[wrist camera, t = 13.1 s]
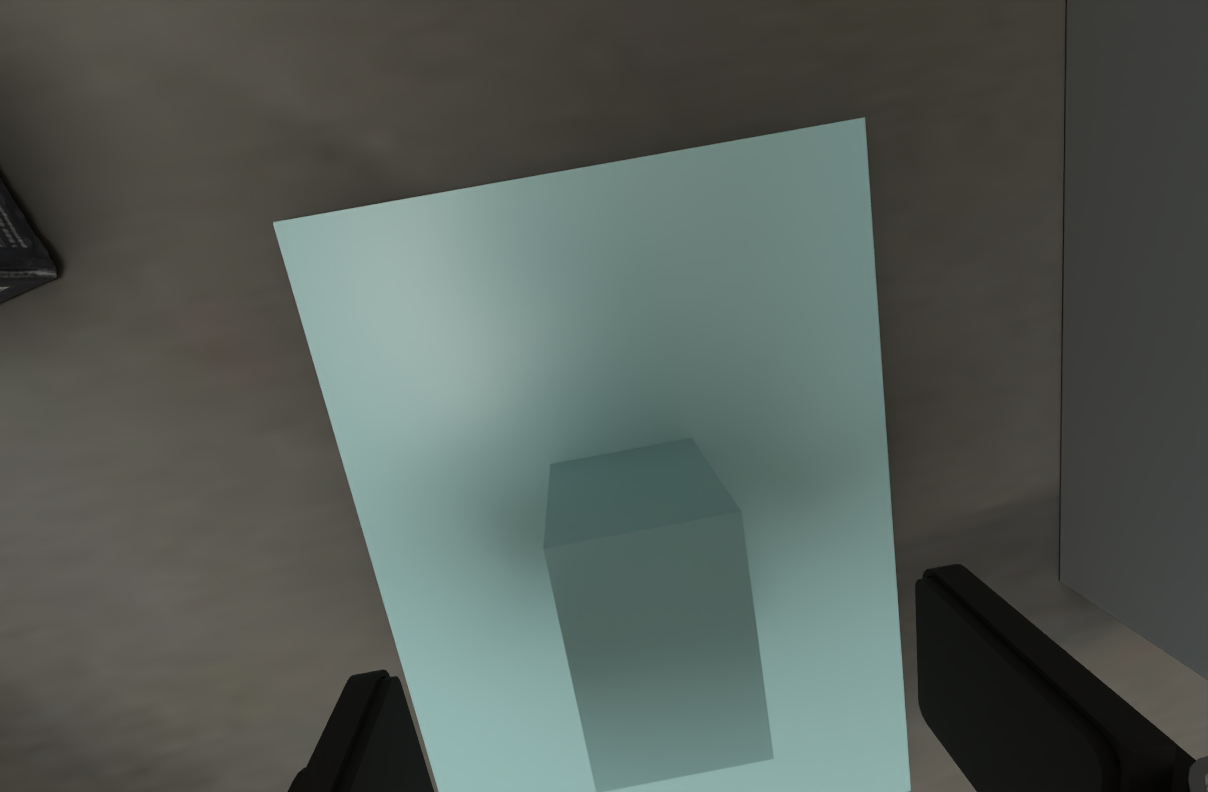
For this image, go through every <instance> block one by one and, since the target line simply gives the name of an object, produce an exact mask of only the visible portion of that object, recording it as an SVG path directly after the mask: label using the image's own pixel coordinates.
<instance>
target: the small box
mask: <svg viewBox="0 0 1208 792" xmlns="http://www.w3.org/2000/svg"><path fill="white" fill-rule="evenodd" d="M56 277H57V276H56V267H55V265H54V262H53V261H52V260H51V258H50V256H49V253H48V250H47V249H46V248H45V247H44V245H43V244H42V243H41V241H40V239H39V238H38V237H37V236H36V235H35V234H34V232H33V230H32V229H31V227H30V226H29V224H28V223H27V221H26V218H25V215H24V214H23V213H22V212H21V211H20V209H19V208H18V206H17V204H16V203H15V201H14V200H13V198H12V197H11V195H10V193H9V192H8V190H7V188H6V187H5V185H4V184H3V182H2V180H1V178H0V303H1V302H3V301H5V300H7V299H10V298H12V297H14V296H15V295H17V294H20V293H23V292H25V291H27V290H30V289H32V288H34V287H36V286H38V285H40V284H43V283H46V282H49V281H52V280H54V279H55V278H56Z"/></svg>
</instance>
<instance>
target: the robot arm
mask: <svg viewBox="0 0 1208 792" xmlns="http://www.w3.org/2000/svg"><path fill="white" fill-rule="evenodd" d="M915 596H916V632H917V668H918V701H919V706H920V710H921V713H922V716H923V718H924V720H925V722H926V723H927V725H928V726H929V728H930V729H931V730H932V732H933V733H934V734H935V736H936V737H937V738H938V740H939V741H940V742H941V744H942V745H943V746H944V748H945V749H946V750H947V752H948V753H949V755H950V756H951V757H952V759H953V760H954V761H955V763H956V764H957V765H958V767H959V768H960V769H961V771H962V772H963V773H964V775H965V776H966V777H967V779H968V780H969V782H970V783H971V784H972V786H973V787H974V788H975V790H976V791H977V792H1208V756H1206V757H1203V758H1200V759H1198V760H1197V761H1196V760H1195V759H1194V758H1192V757H1191V756H1190V755H1189V754H1188V753H1186V752H1185V751H1184V750H1183V749H1182V748H1180V747H1179V746H1178V745H1177V744H1176V743H1175V742H1174V741H1172V740H1171V739H1170V738H1169V737H1168V736H1166V735H1165V734H1164V733H1163V732H1162V731H1160V730H1159V729H1158V728H1157V727H1156V726H1155V725H1153V724H1152V723H1151V722H1150V721H1149V720H1147V719H1146V718H1145V717H1144V716H1143V715H1141V714H1140V713H1139V712H1138V711H1137V710H1135V709H1134V708H1133V707H1132V706H1131V705H1129V704H1128V703H1127V702H1126V701H1125V700H1123V699H1122V698H1121V697H1120V696H1119V695H1117V694H1116V693H1115V692H1114V691H1113V690H1111V689H1110V688H1109V687H1108V686H1107V685H1105V684H1104V683H1103V682H1102V681H1101V680H1099V679H1098V678H1097V677H1096V676H1095V675H1093V674H1092V673H1091V672H1090V671H1089V670H1087V669H1086V668H1085V667H1084V666H1083V665H1081V664H1080V663H1079V662H1078V661H1077V660H1075V659H1074V658H1073V657H1072V656H1071V655H1069V654H1068V653H1067V652H1066V651H1065V650H1063V649H1062V648H1061V647H1060V646H1059V645H1057V644H1056V643H1055V642H1054V641H1053V640H1052V639H1050V638H1049V637H1048V636H1047V635H1046V634H1044V633H1043V632H1042V631H1041V630H1040V629H1038V628H1037V627H1036V626H1035V625H1034V624H1032V623H1031V622H1030V621H1029V620H1028V619H1026V618H1025V617H1024V616H1023V615H1022V614H1020V613H1019V612H1018V611H1017V610H1016V609H1014V608H1013V607H1012V606H1011V605H1010V604H1008V603H1007V602H1006V601H1005V600H1004V599H1002V598H1001V597H1000V596H999V595H998V594H996V593H995V592H994V591H993V590H992V589H990V588H989V587H988V586H987V585H986V584H984V583H983V582H982V581H981V580H980V579H978V578H977V577H976V576H975V575H974V574H972V573H971V572H970V571H969V570H968V569H966V568H965V567H964V566H962V565H960V564H953V565H948V566H942V567H937V568H932V569H927V570H925V571H924V574H923V579H919V580H917V582H916V585H915ZM288 792H434V790H433V787H432V783H431V780H430V777H429V773H428V770H427V767H426V764H425V760H424V757H423V754H422V750H421V747H420V744H419V741H418V737H417V734H416V731H415V728H414V724H413V721H412V718H411V714H410V711H409V708H408V705H407V701H406V698H405V695H404V691H403V688H402V685H401V682H400V680H399V678H398V677H396V676H394V677H390V676H389V673H388V672H387V671H386V670H378V671H373V672H368V673H362V674H357V675H353V676H351V677H350V678H349V679H348V681H347V683H346V685H345V687H344V689H343V691H342V693H341V695H340V697H339V700H338V702H337V704H336V706H335V708H334V710H333V712H332V714H331V716H330V718H329V721H328V723H327V725H326V727H325V729H324V731H323V733H322V735H321V737H320V739H319V742H318V744H317V746H316V748H315V750H314V752H313V754H312V756H311V758H310V760H309V763H308V765H307V767H306V768H304V769H302V770H301V771H300V772H299V773H298V774H297V776H296V777H295V779H294V780H293V782H292V784H291V786H290V788H289V790H288Z"/></svg>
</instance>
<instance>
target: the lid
mask: <svg viewBox="0 0 1208 792" xmlns="http://www.w3.org/2000/svg"><path fill="white" fill-rule="evenodd" d="M273 225H274V229H275V232H276V235H277V239H278V242H279V246H280V249H281V253H282V256H283V259H284V263H285V266H286V270H287V273H288V277H289V280H290V283H291V287H292V290H293V294H294V297H295V301H296V304H297V307H298V311H299V314H300V318H301V321H302V325H303V328H304V331H305V335H306V338H307V342H308V345H309V349H310V352H311V355H312V359H313V362H314V366H315V369H316V373H317V376H318V379H319V383H320V386H321V390H322V393H323V397H324V400H325V403H326V407H327V410H328V414H329V417H330V421H331V424H332V427H333V431H334V434H335V438H336V441H337V445H338V448H339V451H340V455H341V458H342V462H343V465H344V469H345V472H346V475H347V479H348V482H349V486H350V489H351V493H352V496H353V499H354V503H355V506H356V510H357V513H358V517H359V520H360V523H361V527H362V530H363V534H364V537H365V541H366V544H367V547H368V551H369V554H370V558H371V561H372V565H373V568H374V571H375V575H376V578H377V582H378V585H379V589H380V592H381V595H382V599H383V602H384V606H385V609H386V613H387V616H388V619H389V623H390V626H391V630H392V633H393V636H394V640H395V643H396V647H397V650H398V654H399V657H400V660H401V664H402V667H403V671H404V674H405V678H406V681H407V684H408V688H409V691H410V695H411V698H412V702H413V705H414V708H415V712H416V715H417V719H418V722H419V726H420V729H421V732H422V736H423V739H424V743H425V746H426V750H427V753H428V756H429V760H430V763H431V767H432V770H433V774H434V777H435V780H436V784H437V787H438V791H439V792H908V791H911V788H910V773H909V758H908V743H907V729H906V714H905V699H904V685H903V670H902V655H901V640H900V626H899V611H898V596H897V582H896V567H895V552H894V537H893V523H892V508H891V493H890V479H889V464H888V449H887V434H886V420H885V405H884V390H883V376H882V361H881V346H880V331H879V317H878V302H877V287H876V273H875V258H874V243H873V228H872V214H871V199H870V184H869V170H868V155H867V140H866V125H865V117H864V118H859V119H853V120H847V121H842V122H836V123H830V124H825V125H819V126H814V127H808V128H802V129H797V130H791V131H785V132H780V133H774V134H768V135H763V136H757V137H752V138H746V139H740V140H735V141H729V142H723V143H718V144H712V145H706V146H701V147H695V148H689V149H684V150H678V151H673V152H667V153H661V154H656V155H650V156H644V157H639V158H633V159H627V160H622V161H616V162H611V163H605V164H599V165H594V166H588V167H582V168H577V169H571V170H565V171H560V172H554V173H548V174H543V175H537V176H532V177H526V178H520V179H515V180H509V181H503V182H498V183H492V184H486V185H481V186H475V187H470V188H464V189H458V190H453V191H447V192H441V193H436V194H430V195H424V196H419V197H413V198H407V199H402V200H396V201H391V202H385V203H379V204H374V205H368V206H362V207H357V208H351V209H345V210H340V211H334V212H329V213H323V214H317V215H312V216H306V217H300V218H295V219H289V220H283V221H278V222H273Z"/></svg>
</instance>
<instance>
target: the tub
mask: <svg viewBox="0 0 1208 792" xmlns="http://www.w3.org/2000/svg"><path fill="white" fill-rule="evenodd" d="M1060 582H1061V583H1063V584H1064V585H1066V586H1067V587H1069V588H1070V589H1072V590H1073V591H1075V592H1076V593H1078V594H1079V595H1081V596H1082V597H1084V598H1085V599H1087V600H1088V601H1090V602H1091V603H1093V604H1094V605H1096V606H1097V607H1099V608H1100V609H1102V610H1103V611H1105V612H1106V613H1108V614H1109V615H1111V616H1112V617H1114V618H1115V619H1117V620H1118V621H1120V622H1121V623H1123V624H1124V625H1126V626H1127V627H1129V628H1130V629H1132V630H1133V631H1135V632H1136V633H1138V634H1139V635H1141V636H1142V637H1144V638H1145V639H1147V640H1148V641H1150V642H1151V643H1153V644H1154V645H1156V646H1157V647H1159V648H1160V649H1162V650H1163V651H1165V652H1166V653H1168V654H1169V655H1171V656H1172V657H1174V658H1175V659H1177V660H1178V661H1180V662H1181V663H1183V664H1184V665H1186V666H1187V667H1189V668H1190V669H1192V670H1193V671H1195V672H1196V673H1198V674H1199V675H1201V676H1202V677H1204V678H1205V679H1207V680H1208V0H1067V43H1066V123H1065V202H1064V282H1063V362H1062V441H1061V521H1060Z"/></svg>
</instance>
